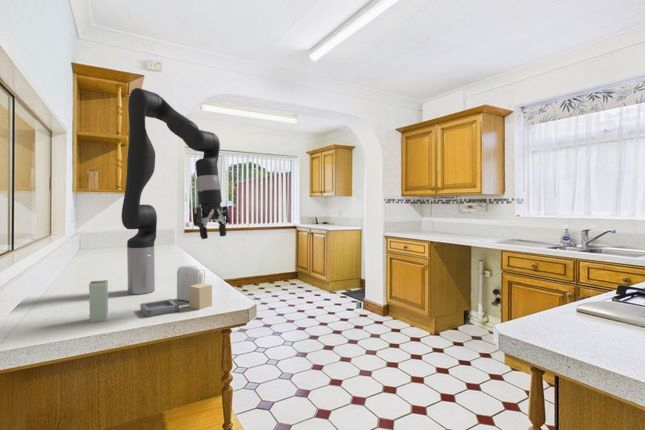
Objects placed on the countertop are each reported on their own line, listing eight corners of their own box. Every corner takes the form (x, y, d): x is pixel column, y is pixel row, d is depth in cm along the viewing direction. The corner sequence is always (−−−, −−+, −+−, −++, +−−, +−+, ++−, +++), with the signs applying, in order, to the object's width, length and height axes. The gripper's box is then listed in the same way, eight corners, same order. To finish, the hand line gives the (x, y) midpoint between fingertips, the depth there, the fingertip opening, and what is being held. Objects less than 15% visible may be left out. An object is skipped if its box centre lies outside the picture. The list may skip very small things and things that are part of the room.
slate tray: (140, 310, 114) (140, 303, 114) (170, 305, 119) (170, 299, 119) (147, 317, 107) (147, 310, 107) (178, 311, 112) (178, 305, 112)
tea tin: (92, 318, 106) (91, 281, 105) (108, 316, 107) (107, 280, 107) (89, 322, 102) (88, 284, 102) (106, 320, 104) (105, 282, 103)
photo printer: (207, 300, 126) (206, 265, 125) (198, 303, 122) (198, 267, 121) (183, 297, 130) (183, 263, 129) (175, 300, 126) (174, 265, 125)
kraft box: (189, 307, 117) (189, 286, 117) (201, 303, 122) (201, 283, 121) (199, 309, 115) (199, 288, 115) (211, 306, 119) (211, 285, 119)
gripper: (216, 191, 129) (220, 236, 129) (184, 190, 117) (189, 240, 117) (231, 188, 126) (236, 234, 126) (201, 188, 113) (206, 239, 113)
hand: (214, 237), depth 121 cm, fingers open, 8 cm apart
